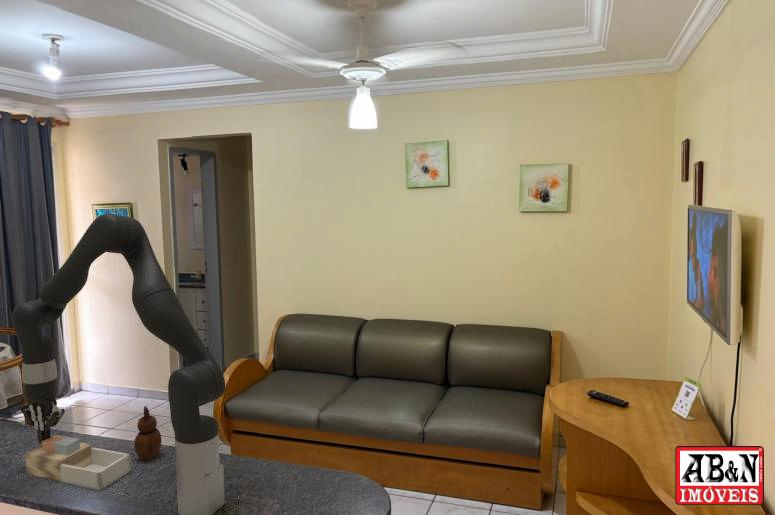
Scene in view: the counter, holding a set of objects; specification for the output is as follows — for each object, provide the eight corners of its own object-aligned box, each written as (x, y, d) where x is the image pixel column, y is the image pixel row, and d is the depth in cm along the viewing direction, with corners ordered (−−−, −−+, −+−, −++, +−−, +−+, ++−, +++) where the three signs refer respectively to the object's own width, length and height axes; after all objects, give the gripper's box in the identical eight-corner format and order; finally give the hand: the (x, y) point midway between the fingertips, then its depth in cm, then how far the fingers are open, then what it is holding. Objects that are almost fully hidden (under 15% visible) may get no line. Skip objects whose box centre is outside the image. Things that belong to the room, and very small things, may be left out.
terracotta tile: (68, 445, 143) (67, 436, 143) (54, 452, 139) (54, 443, 139) (56, 443, 144) (55, 434, 144) (42, 450, 140) (42, 441, 140)
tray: (131, 470, 141) (130, 454, 141) (100, 490, 132) (99, 473, 131) (94, 463, 145) (93, 447, 144) (61, 482, 135) (60, 465, 135)
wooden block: (92, 464, 144) (91, 444, 144) (63, 481, 136) (61, 460, 135) (57, 457, 148) (56, 438, 147) (26, 473, 140) (25, 453, 139)
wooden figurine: (150, 464, 145) (148, 409, 143) (131, 461, 146) (128, 407, 144) (166, 452, 151) (163, 399, 150) (147, 450, 153) (144, 398, 151)
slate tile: (80, 448, 142) (79, 439, 141) (67, 455, 138) (66, 445, 138) (68, 446, 143) (67, 436, 143) (54, 452, 139) (54, 443, 139)
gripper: (72, 375, 142) (76, 439, 144) (33, 370, 146) (38, 432, 148) (46, 385, 135) (51, 452, 137) (6, 379, 139) (11, 444, 141)
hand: (44, 442), depth 142 cm, fingers closed
